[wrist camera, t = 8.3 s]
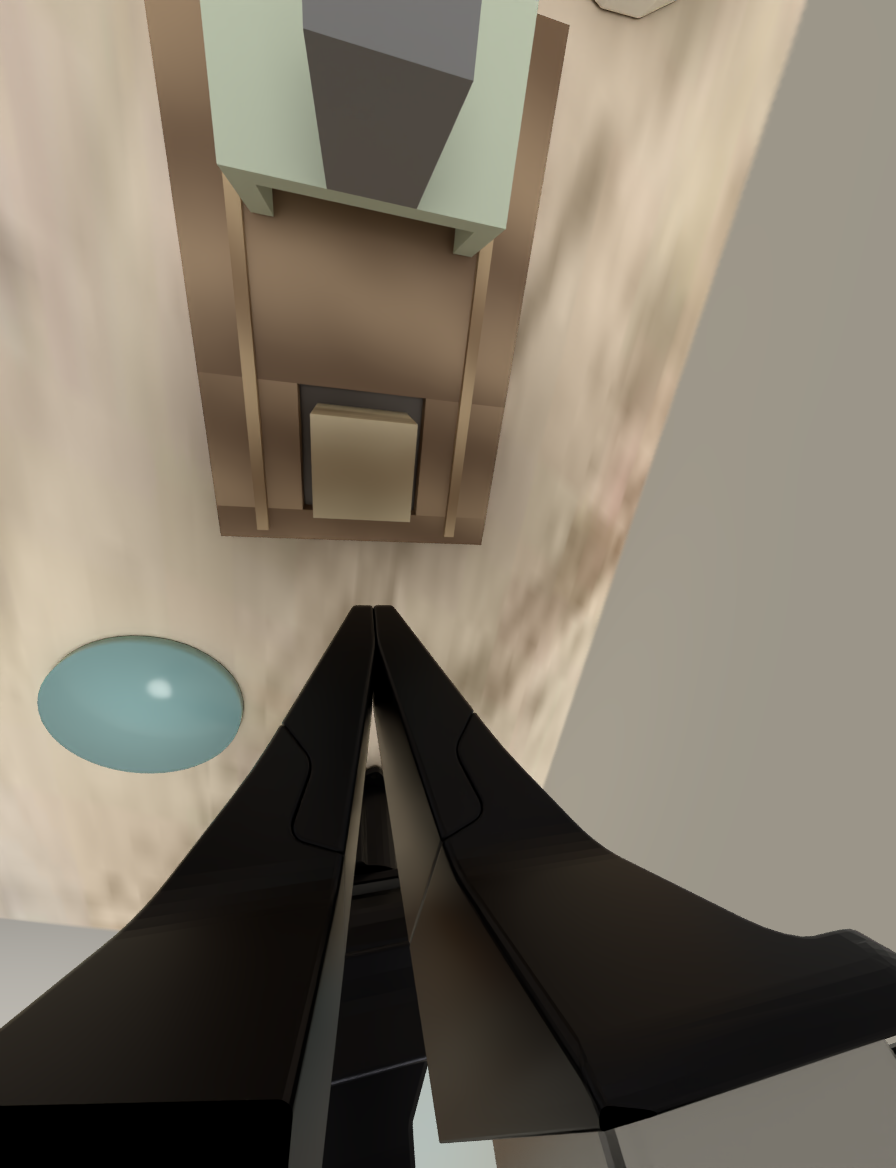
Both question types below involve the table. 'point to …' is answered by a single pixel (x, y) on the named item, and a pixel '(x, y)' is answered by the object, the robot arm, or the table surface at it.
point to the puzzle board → (343, 315)
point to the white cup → (633, 6)
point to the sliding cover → (373, 104)
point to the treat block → (362, 463)
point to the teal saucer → (141, 704)
